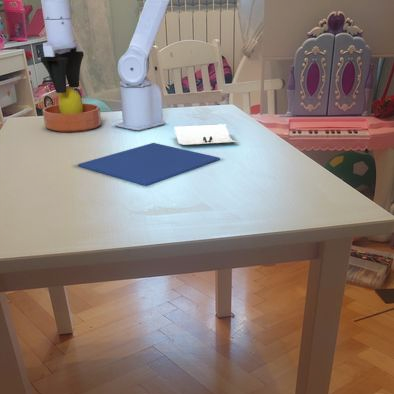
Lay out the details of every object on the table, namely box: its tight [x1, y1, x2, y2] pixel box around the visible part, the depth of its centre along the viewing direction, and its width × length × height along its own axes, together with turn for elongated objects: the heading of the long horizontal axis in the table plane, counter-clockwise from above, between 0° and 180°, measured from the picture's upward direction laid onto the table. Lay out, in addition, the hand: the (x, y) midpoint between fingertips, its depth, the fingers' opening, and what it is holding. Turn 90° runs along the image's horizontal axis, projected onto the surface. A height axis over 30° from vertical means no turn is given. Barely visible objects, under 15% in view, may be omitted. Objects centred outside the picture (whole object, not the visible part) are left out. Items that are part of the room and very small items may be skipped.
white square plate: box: [173, 123, 240, 146], centre depth 106 cm, size 12×12×2 cm
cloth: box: [77, 142, 221, 187], centre depth 93 cm, size 20×18×1 cm
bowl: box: [42, 102, 102, 133], centre depth 117 cm, size 13×13×4 cm
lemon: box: [58, 86, 83, 114], centre depth 116 cm, size 6×6×8 cm
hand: (67, 89), depth 114 cm, fingers open, 7 cm apart
